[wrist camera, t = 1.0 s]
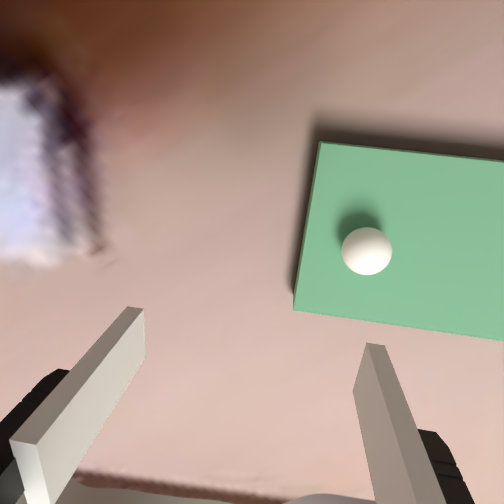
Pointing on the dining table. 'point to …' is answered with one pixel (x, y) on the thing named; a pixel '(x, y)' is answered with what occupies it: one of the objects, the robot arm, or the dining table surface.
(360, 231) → the ball
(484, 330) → the putting mat
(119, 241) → the dining table surface
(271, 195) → the dining table surface
